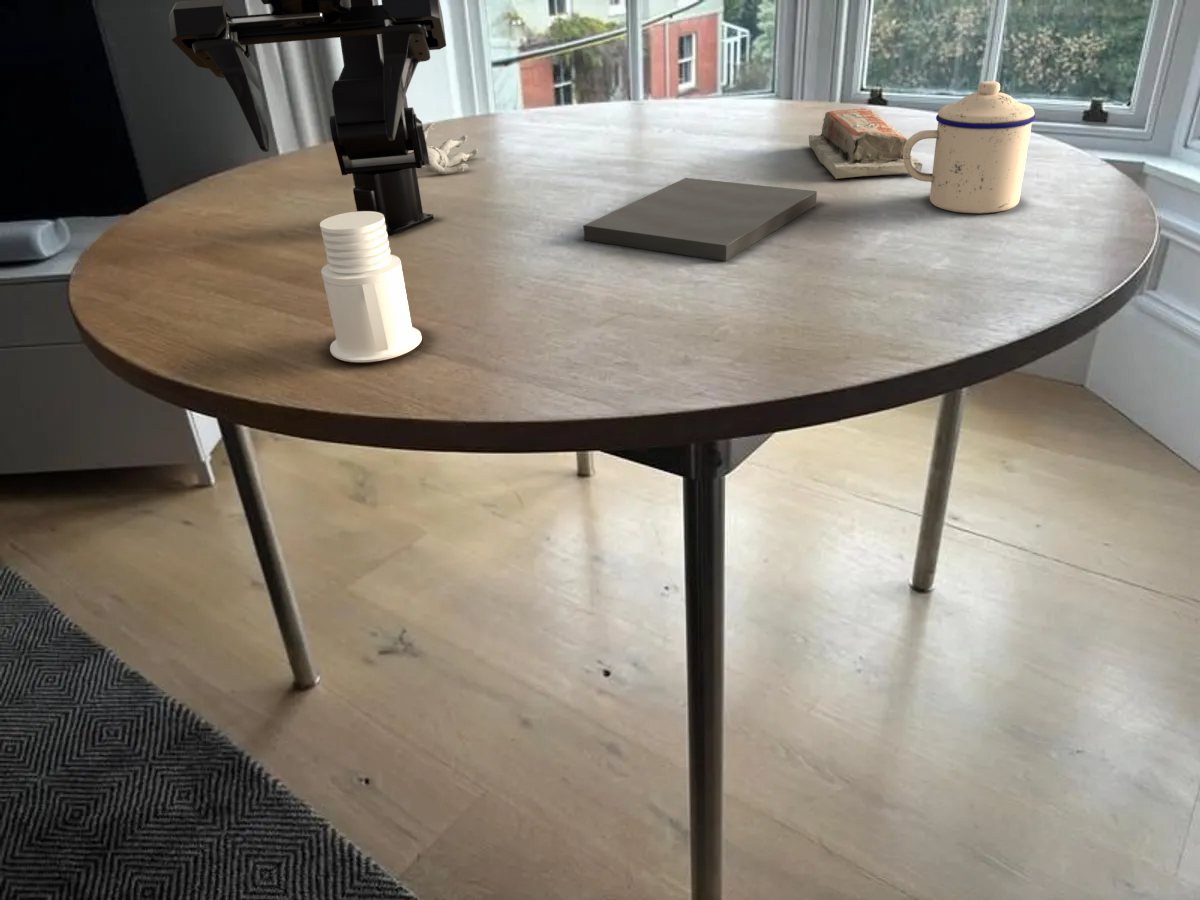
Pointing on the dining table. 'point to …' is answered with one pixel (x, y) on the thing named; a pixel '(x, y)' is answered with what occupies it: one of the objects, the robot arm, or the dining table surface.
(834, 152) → the packaged product
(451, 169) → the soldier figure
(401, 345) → the downlight
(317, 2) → the robot arm
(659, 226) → the slate board
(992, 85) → the teacup with lid
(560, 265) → the dining table surface
